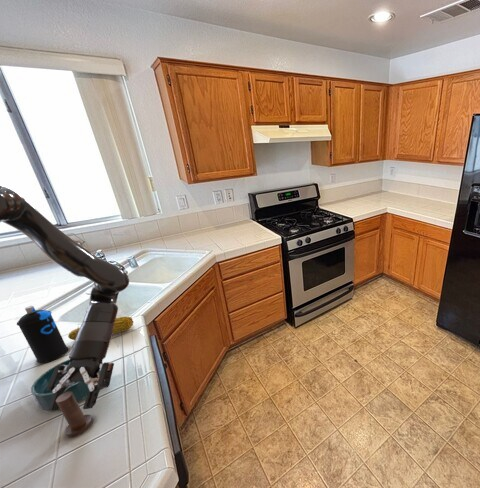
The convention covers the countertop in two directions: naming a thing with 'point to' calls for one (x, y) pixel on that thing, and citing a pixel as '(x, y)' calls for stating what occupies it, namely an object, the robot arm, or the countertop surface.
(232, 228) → the countertop surface
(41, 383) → the bowl
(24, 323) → the aerosol can
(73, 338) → the food
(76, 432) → the brown wooden peg
